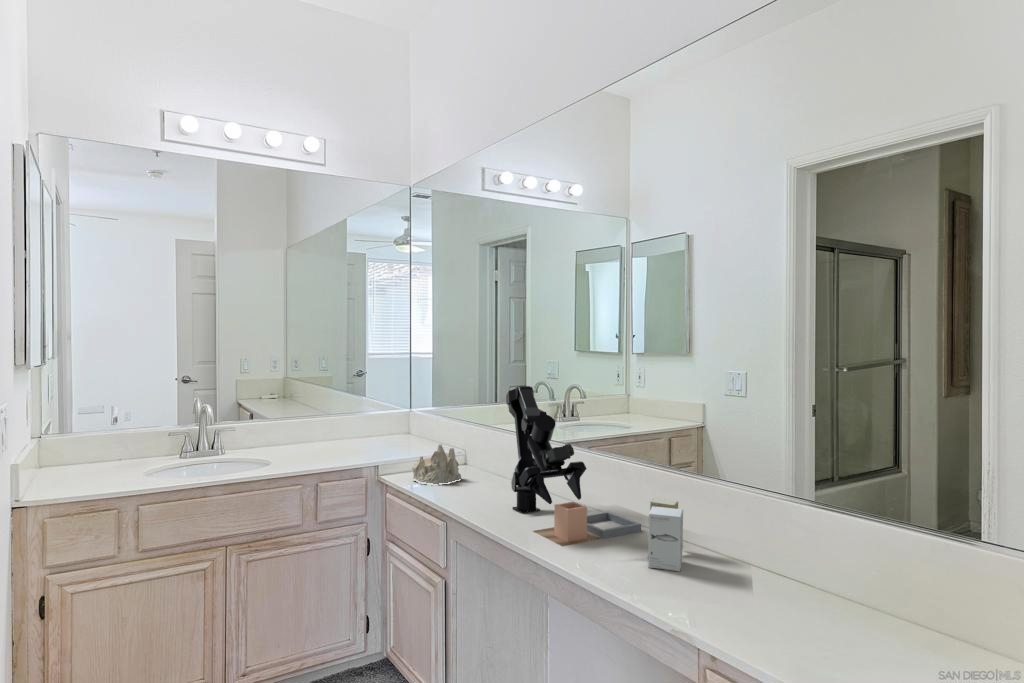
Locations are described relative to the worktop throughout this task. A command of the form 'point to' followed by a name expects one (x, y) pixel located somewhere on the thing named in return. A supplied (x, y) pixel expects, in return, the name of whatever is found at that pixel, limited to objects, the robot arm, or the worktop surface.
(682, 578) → the worktop surface
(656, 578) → the worktop surface
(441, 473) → the miniature mountain rock
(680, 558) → the supplement box
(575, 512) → the terracotta collar
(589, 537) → the walnut base
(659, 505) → the skincare box
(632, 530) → the charcoal tray
